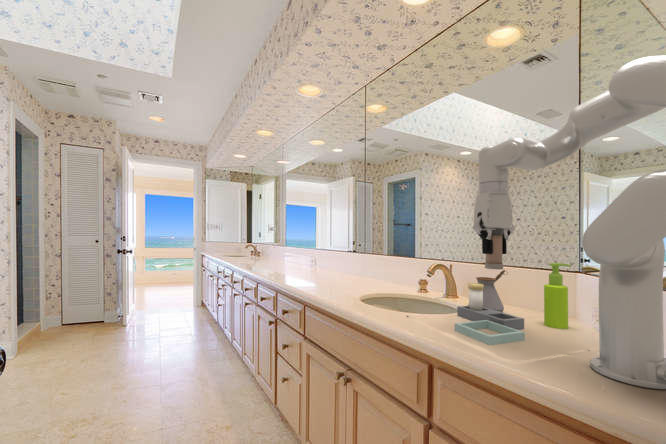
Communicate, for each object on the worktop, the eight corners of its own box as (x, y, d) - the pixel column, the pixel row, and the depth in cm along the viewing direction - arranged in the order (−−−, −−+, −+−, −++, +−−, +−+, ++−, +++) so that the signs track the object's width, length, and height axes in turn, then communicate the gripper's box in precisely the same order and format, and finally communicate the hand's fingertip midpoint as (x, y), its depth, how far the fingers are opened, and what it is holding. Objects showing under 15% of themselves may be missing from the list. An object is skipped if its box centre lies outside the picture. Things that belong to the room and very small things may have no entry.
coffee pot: (494, 320, 102) (494, 275, 103) (462, 313, 111) (462, 271, 112) (521, 311, 115) (521, 271, 116) (490, 305, 124) (490, 268, 125)
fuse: (486, 318, 100) (486, 284, 101) (475, 320, 99) (476, 285, 99) (475, 315, 105) (475, 282, 105) (465, 316, 103) (465, 283, 103)
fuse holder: (524, 332, 90) (524, 318, 90) (503, 335, 87) (503, 320, 87) (475, 316, 107) (475, 304, 107) (457, 318, 104) (457, 306, 104)
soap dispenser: (576, 333, 90) (575, 264, 91) (549, 331, 91) (549, 263, 92) (565, 327, 96) (565, 262, 97) (540, 325, 97) (540, 262, 98)
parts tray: (524, 343, 80) (524, 332, 80) (489, 349, 76) (489, 336, 76) (486, 330, 91) (486, 319, 91) (454, 334, 87) (454, 323, 87)
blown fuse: (507, 269, 86) (507, 229, 87) (494, 269, 85) (494, 229, 85) (493, 267, 91) (493, 229, 91) (481, 267, 89) (481, 229, 89)
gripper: (505, 193, 95) (506, 253, 94) (460, 190, 90) (460, 253, 89) (527, 189, 88) (528, 254, 87) (479, 186, 82) (480, 254, 81)
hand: (494, 253), depth 88 cm, fingers closed on blown fuse, 4 cm apart
